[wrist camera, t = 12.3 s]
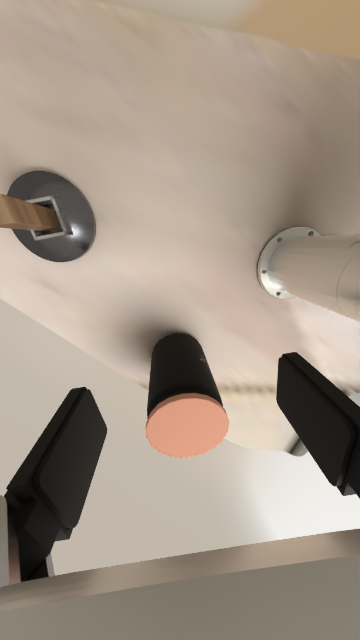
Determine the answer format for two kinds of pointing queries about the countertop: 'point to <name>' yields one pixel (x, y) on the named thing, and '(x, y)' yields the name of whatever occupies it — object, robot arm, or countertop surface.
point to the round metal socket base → (68, 210)
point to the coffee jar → (183, 400)
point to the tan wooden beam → (26, 215)
